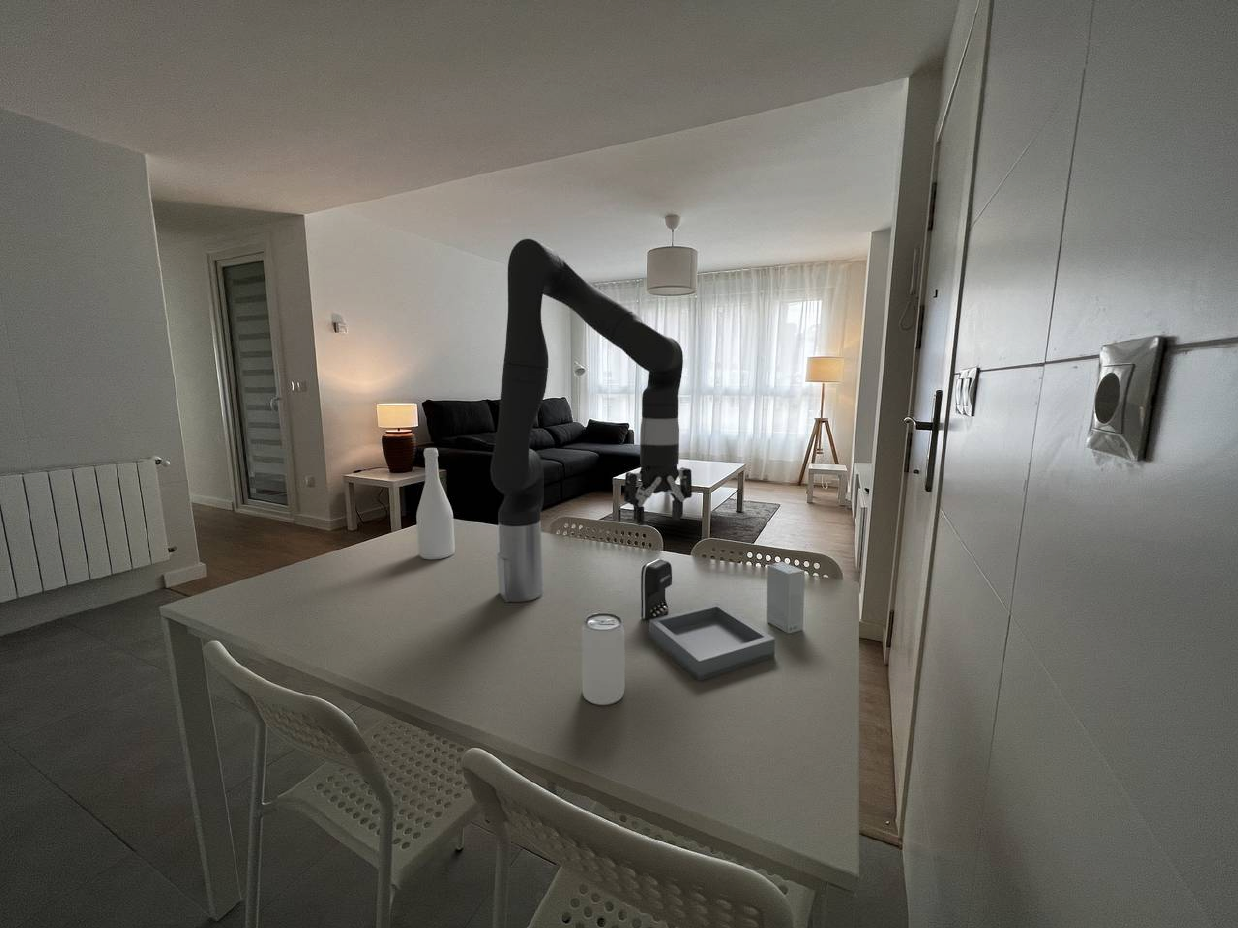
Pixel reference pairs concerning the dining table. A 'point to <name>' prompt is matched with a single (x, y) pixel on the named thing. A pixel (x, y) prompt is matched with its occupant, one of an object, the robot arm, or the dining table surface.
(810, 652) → the dining table surface
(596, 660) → the can
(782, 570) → the skincare box
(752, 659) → the tray
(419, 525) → the wine bottle
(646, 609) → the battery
